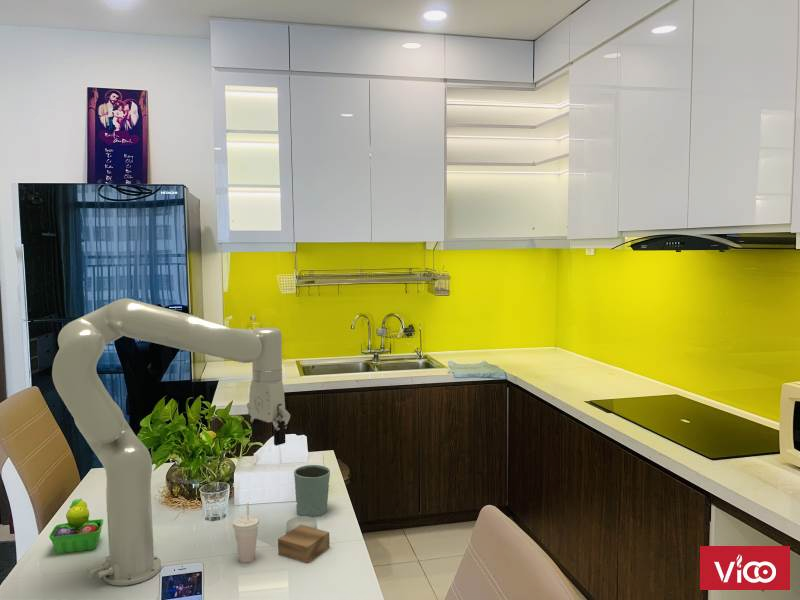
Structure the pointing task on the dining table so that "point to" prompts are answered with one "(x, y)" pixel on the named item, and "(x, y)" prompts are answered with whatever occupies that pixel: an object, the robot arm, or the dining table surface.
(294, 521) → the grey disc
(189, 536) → the dining table surface
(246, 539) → the smoothie
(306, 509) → the grey-green hollow tall cylinder
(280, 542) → the walnut base
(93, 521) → the fruit basket
